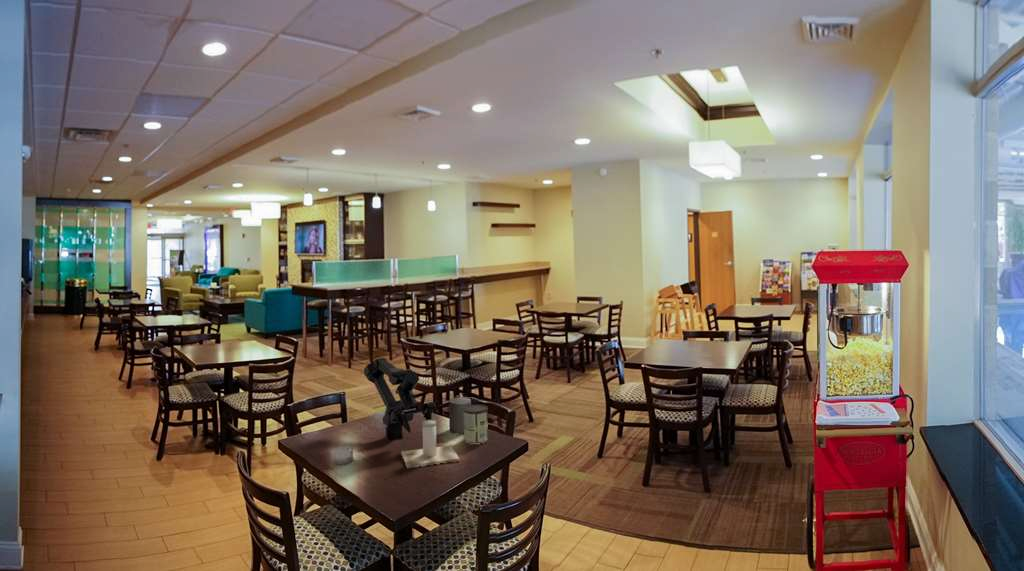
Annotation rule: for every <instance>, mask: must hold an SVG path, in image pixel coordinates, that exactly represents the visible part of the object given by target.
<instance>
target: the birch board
mask: <svg viewBox="0 0 1024 571" xmlns="http://www.w3.org/2000/svg"><path fill="white" fill-rule="evenodd" d="M401 456H402V460H403V459H404V460H403V462H404V464H405V467H406V469H412V468H420V467H419V466H421V467H428V466H427V465H429V466H434V465H433V464H437V465H441V464H440V463H444V464H448V463H447V462H452V463H456V462H455V461H459V462H460V457H459V456H458V454H457V452H456V450H454V448H453V446H452V445H443V446H436V456H434V457H424V456H423V448H418V449H410V450H402V451H401Z"/></svg>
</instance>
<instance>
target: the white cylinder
mask: <svg viewBox="0 0 1024 571" xmlns="http://www.w3.org/2000/svg"><path fill="white" fill-rule="evenodd" d="M421 425H422V449H423V456H424V457H434V456H436V447H437V421H436V420H435V419H431V420H426V419H425V420H423V421H422V422H421Z"/></svg>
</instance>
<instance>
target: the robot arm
mask: <svg viewBox="0 0 1024 571" xmlns="http://www.w3.org/2000/svg"><path fill="white" fill-rule="evenodd" d="M363 374H364V376H365V377H366V379H367V380H368V382H371V383H373V384H374V386H375V388H376V390H377V392H378V394H379V396H380V398H381V400H382V402H383V404H384V406H385V411H384V416H383V417H382V423H383V425H385V427H384V428H385V438H386V439H387V440H388V441H390V440H400V439H404V435H403V428H404V430H406V431H407V432H408V433H409V434H410V433H412V432H411V427H410V424H409V422H412V421H413V419H414V414H420V413H422V415H423V416H422V417H423V418H425V421H426V420H432V416H433V415H432V414H433V412H434V410H435V409H436V408H437V405H436V403H435V402H434V401H430V402H429V401H428V402H425V403H424V404H423V406H420V402H418V401H417V399H416V397H417V395H416V393H415V394H414V392H413V391H414V389H415V388H416V386H417V385H418V382H419V381H420V377H419V375H418V374H417V373H416V372H414V371H413V370H412V369H407V370H406V369H404V368H398V367H397V366H394V365H393V364H392V363H391V362H389V361H388V359H387V358H385V357H380V358H379V357H378V358H376V359H374V360H373V361H371V362H370V363H368V364H367V365H366V366H365V367H364V369H363ZM385 375H386V376H387V377H388V382H389V383H390V384H391V385H392V386H397V387H396V390H395V395H397V394H398V397H399V399H400V400H397V399H396V398H395V397H394V395H393V392H392V390H391V389H390V386H389V385H388V383H387V381H386V379H385Z"/></svg>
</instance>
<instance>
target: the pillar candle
mask: <svg viewBox="0 0 1024 571" xmlns="http://www.w3.org/2000/svg"><path fill="white" fill-rule="evenodd" d="M469 405H472V401H471V399H470V398H467V397H454V398H451V399H449V409H448V410H449V414H448V416H449V420H448V421H449V424H448V425H449V426H448V428H449V432H450V433H452V434H455V433H463V434H464V411H463V408H464V407H466V406H469Z"/></svg>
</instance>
